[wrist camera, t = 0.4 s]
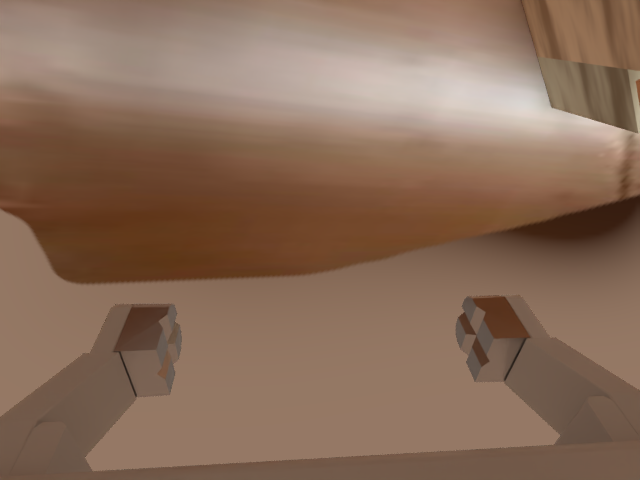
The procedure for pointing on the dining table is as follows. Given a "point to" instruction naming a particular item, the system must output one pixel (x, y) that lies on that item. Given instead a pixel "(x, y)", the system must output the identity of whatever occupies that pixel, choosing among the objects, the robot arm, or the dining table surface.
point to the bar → (638, 89)
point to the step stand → (589, 57)
